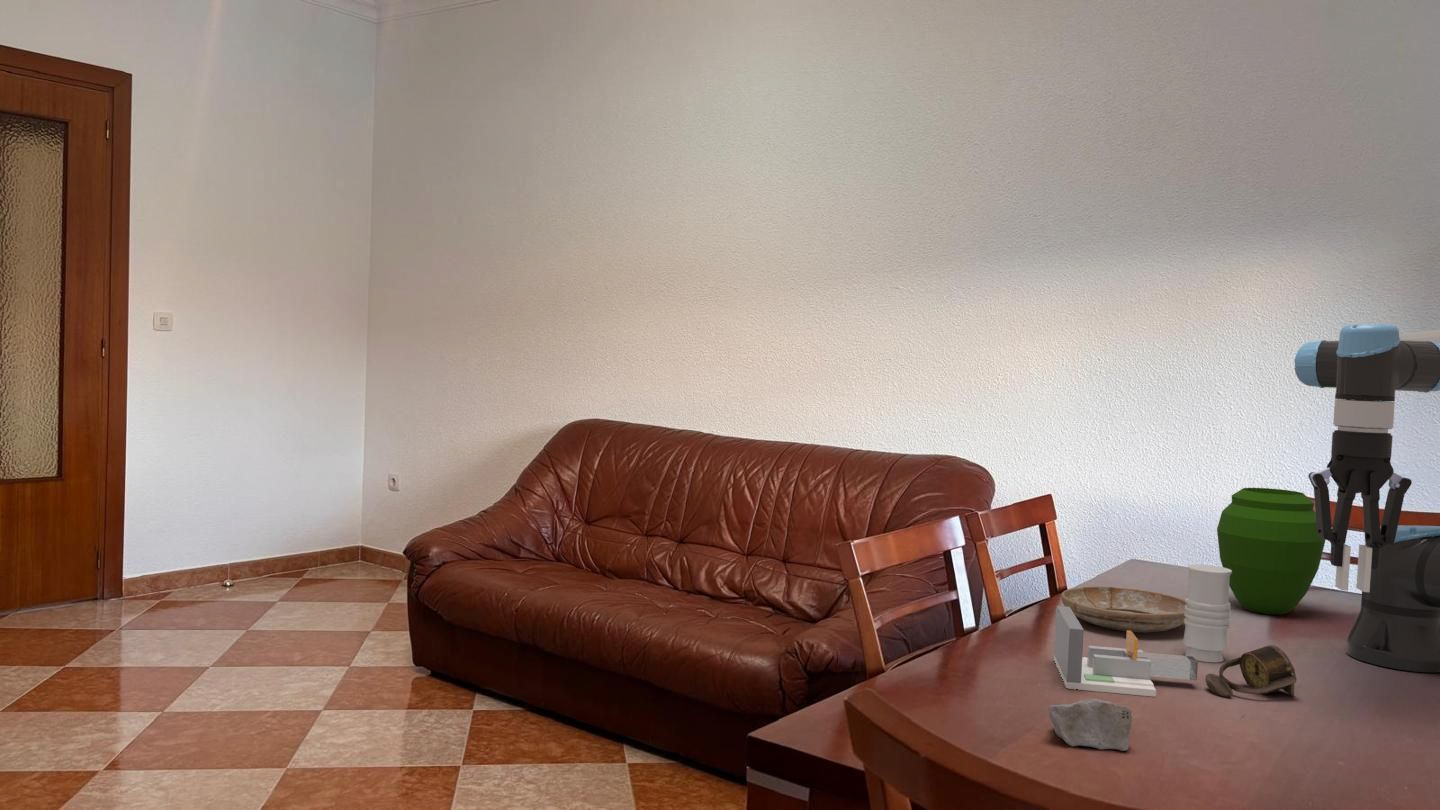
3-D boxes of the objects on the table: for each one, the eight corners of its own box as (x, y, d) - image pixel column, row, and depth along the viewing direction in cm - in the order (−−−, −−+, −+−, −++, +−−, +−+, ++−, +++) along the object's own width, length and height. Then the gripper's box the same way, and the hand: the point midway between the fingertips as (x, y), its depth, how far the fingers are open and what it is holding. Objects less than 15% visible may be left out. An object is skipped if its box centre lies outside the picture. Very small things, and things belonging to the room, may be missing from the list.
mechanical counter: (1314, 672, 150) (1290, 639, 160) (1221, 656, 152) (1202, 625, 162) (1302, 715, 152) (1279, 681, 162) (1210, 700, 154) (1192, 666, 164)
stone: (1051, 725, 139) (1054, 681, 139) (1130, 739, 136) (1134, 694, 135) (1044, 744, 132) (1048, 698, 132) (1129, 759, 128) (1132, 712, 128)
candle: (1234, 664, 172) (1240, 573, 171) (1191, 662, 172) (1196, 571, 172) (1217, 652, 179) (1222, 565, 178) (1175, 650, 179) (1180, 563, 178)
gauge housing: (1135, 667, 168) (1138, 612, 167) (1155, 696, 153) (1159, 635, 153) (1053, 660, 170) (1056, 605, 170) (1066, 688, 155) (1069, 628, 155)
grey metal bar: (1191, 674, 160) (1194, 635, 160) (1201, 685, 155) (1204, 645, 154) (1122, 668, 162) (1125, 629, 162) (1130, 679, 157) (1132, 639, 156)
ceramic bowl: (1162, 612, 208) (1164, 587, 208) (1215, 644, 185) (1216, 616, 185) (1045, 607, 209) (1046, 582, 209) (1082, 638, 185) (1084, 610, 185)
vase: (1323, 609, 216) (1330, 491, 215) (1317, 628, 199) (1325, 500, 198) (1219, 595, 226) (1225, 482, 225) (1205, 611, 210) (1213, 490, 209)
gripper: (1408, 431, 156) (1397, 588, 157) (1296, 426, 158) (1287, 580, 159) (1432, 434, 148) (1421, 599, 149) (1315, 429, 151) (1305, 590, 152)
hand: (1352, 589), depth 154 cm, fingers open, 2 cm apart
